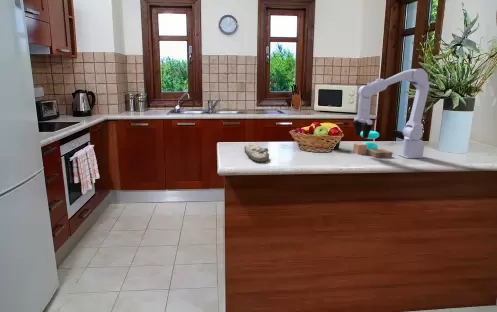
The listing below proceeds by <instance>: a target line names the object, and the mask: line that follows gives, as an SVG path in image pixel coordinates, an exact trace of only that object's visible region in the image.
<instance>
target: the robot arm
mask: <svg viewBox="0 0 497 312" xmlns="http://www.w3.org/2000/svg"><path fill="white" fill-rule="evenodd" d="M428 76H429V74H428V72H426V70H425V69H423V68H410V69H407V70H403V71H401V72H398V73H397V74H394V75H392V76H390V77H388V78H386V79H384V78H376V79H375V81H372V82H367V84H366V85H361V86H360V87H359V88H358V90H357V95H358V105H357V106H358V107H357V113H356V114H357V115H356V116H354V117H353V121H352V122H351V124H352V126H353V129H354V134H355V137H356V136H361V135H360V133H361V132H362V131H363V137H362V138H363V139H366V138H368V135H369V132H370V131H372V129H373V127H374V124H373V120H371V118H370V113H371V112H370V111H371V103H372V102H371V101H372V100H371V99H372V97H373V95H376V94H378V93H380V92H384V91H385V90H386V89H387V87H388V86H391V85H393V84H396V83H398V82H401V81H407V82H409V83H411V84H412V85H413V86H414V87H415V89H416V90H415V95H414V99H413V103H412V108H411V112H410V115H409V120H408V121H407V122H406V124H405V126H404V127H403V129H402V136H403V144H402V152H401V153H398V154H397V155H398V156H400V157H402V158H405V159H424V152H425V151H424V150H425V142H424V141H423V139H422V137H423V134H424V132H423V124H422V119H423V114H424V110H425V107H426V102H427V98H428V94H429V90H430V83H429V79H428Z"/></svg>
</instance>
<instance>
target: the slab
mask: <svg viewBox="0 0 497 312" xmlns="http://www.w3.org/2000/svg"><path fill="white" fill-rule="evenodd" d="M365 155H367V156H370V157H372V158H374V159H383V158H384V159H385V157H391V158H393V157H392V155H393V152H392V151H389V150H387V149H384V148H378V149H367V153H366V154H365Z"/></svg>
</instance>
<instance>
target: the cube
mask: <svg viewBox="0 0 497 312" xmlns="http://www.w3.org/2000/svg"><path fill="white" fill-rule="evenodd" d="M352 152H353V154H354V153H355V154H357V155H367V154H366V153H367V145H366V144H364V142H356V143H355V142H354V143H353V151H352Z"/></svg>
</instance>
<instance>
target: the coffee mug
mask: <svg viewBox="0 0 497 312" xmlns="http://www.w3.org/2000/svg"><path fill="white" fill-rule="evenodd" d="M340 131H341V132H342V133H343V130H340ZM341 137H342V136H341ZM343 137H344V136H343ZM343 137H342V138H341V140H343ZM341 140H340V141H339V142H338V143H337V144H336V146H335V147H334V149H333V150H339V149H340V145H341Z"/></svg>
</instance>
